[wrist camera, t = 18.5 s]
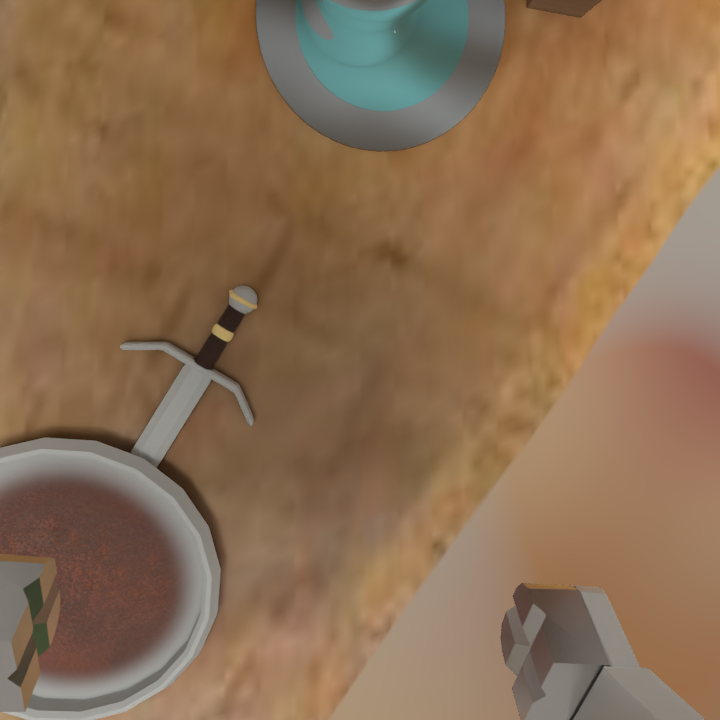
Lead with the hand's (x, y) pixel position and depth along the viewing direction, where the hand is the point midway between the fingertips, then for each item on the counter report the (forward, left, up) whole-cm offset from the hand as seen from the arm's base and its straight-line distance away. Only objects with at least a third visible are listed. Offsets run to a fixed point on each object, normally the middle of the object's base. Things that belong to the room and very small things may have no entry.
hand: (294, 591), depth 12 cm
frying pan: (0, -13, -26) cm, 29 cm away
